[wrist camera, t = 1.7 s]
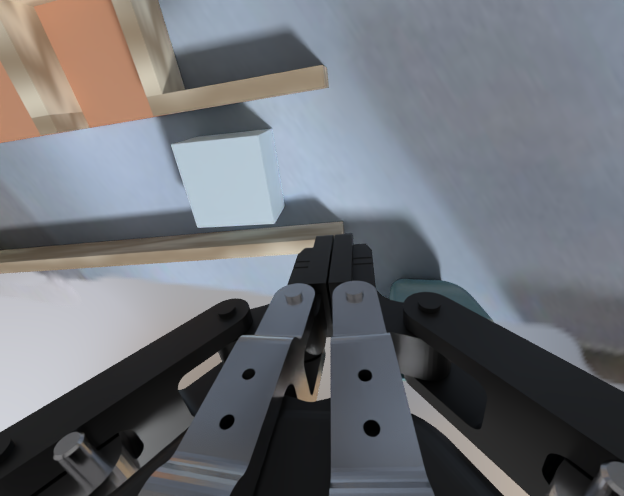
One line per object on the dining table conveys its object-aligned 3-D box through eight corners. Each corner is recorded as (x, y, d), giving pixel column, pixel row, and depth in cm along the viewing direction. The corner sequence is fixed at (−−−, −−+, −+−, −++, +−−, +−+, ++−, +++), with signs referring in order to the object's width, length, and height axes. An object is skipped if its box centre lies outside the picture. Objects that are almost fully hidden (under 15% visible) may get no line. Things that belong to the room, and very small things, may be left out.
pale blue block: (197, 136, 30) (170, 144, 25) (272, 128, 28) (258, 135, 24) (217, 209, 33) (197, 227, 29) (285, 205, 32) (274, 223, 28)
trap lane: (-171, 42, 30) (-241, 35, 26) (309, -95, 21) (300, -133, 17) (-6, 260, 42) (-39, 276, 38) (344, 233, 33) (342, 250, 29)
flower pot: (382, 263, 34) (390, 315, 26) (462, 265, 33) (496, 320, 25) (377, 320, 38) (383, 380, 30) (448, 324, 37) (474, 387, 29)
